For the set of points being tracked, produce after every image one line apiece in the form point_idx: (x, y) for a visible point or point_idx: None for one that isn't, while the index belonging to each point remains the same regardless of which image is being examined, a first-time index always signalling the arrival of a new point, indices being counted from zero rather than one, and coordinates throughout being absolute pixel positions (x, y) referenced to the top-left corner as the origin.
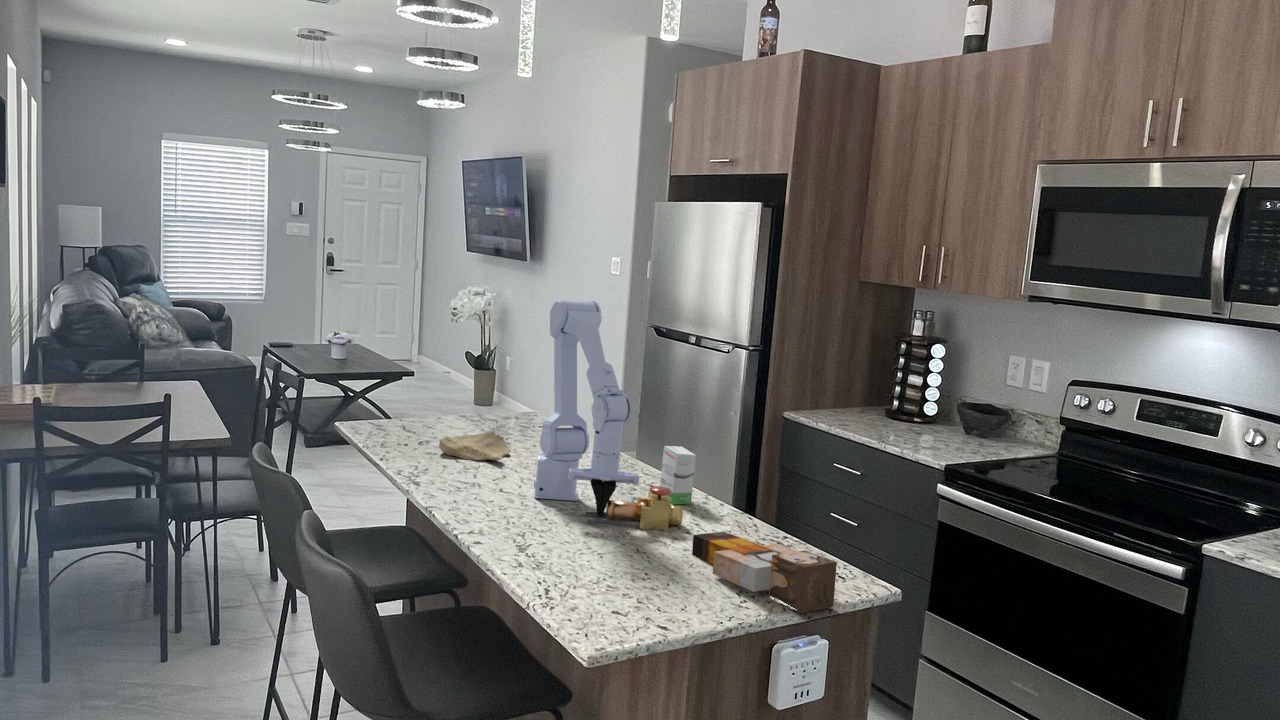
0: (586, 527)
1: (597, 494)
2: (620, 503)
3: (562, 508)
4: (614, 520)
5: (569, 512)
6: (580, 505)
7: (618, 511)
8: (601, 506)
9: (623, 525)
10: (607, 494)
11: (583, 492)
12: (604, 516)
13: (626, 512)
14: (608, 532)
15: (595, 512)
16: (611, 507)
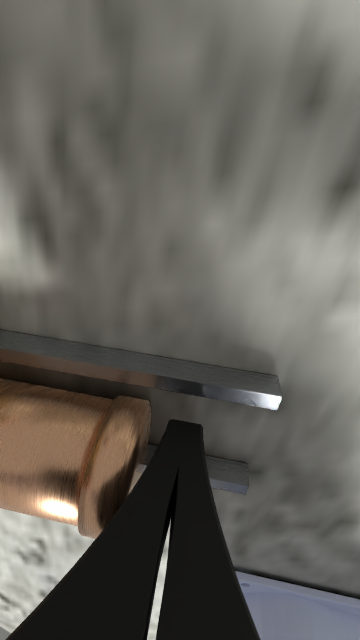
0: (300, 314)
1: (217, 611)
2: (32, 490)
3: (320, 533)
4: (107, 370)
5: (307, 500)
6: (229, 544)
7: (65, 426)
8: (175, 477)
9: (65, 342)
10: (104, 596)
11: None
12: (153, 448)
13: (16, 413)
14: (167, 222)
15: None
16: (104, 459)
